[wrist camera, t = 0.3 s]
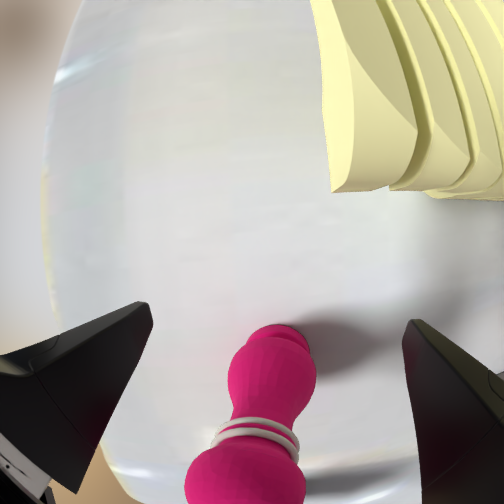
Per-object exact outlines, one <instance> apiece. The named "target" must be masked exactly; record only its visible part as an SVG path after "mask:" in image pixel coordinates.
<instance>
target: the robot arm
mask: <svg viewBox="0 0 504 504" xmlns="http://www.w3.org/2000/svg"><path fill="white" fill-rule="evenodd" d="M152 328H153V319H152V315H151V311H150V307H149V305H148V303H146V302H140V301H137V302H134V303H132V304H130V305H127V306H125V307H123V308H120V309H118V310H116V311H113V312H111V313H109V314H106V315H104V316H101V317H99V318H97V319H94V320H92V321H90V322H87V323H85V324H83V325H80V326H78V327H76V328H73V329H71V330H68V331H66V332H64V333H61V334H60V335H57V336H54V337H52V338H49V339H47V340H45V341H42V342H40V343H37V344H34V345H31V346H28V347H25V348H22V349H19V350H17V351H14V352H10V353H8V354H4V355H0V504H56V503H55V500H54V496H53V493H52V489H51V488H50V487H49V486H48V485H49V483H50V481H51V480H52V478H53V479H54V480H55V481H57V482H58V483H60V484H61V485H63V486H64V487H65V488H67V489H68V490H70V491H71V492H73V493H75V494H77V492H78V490H79V488H80V485H81V483H82V481H83V478H84V475H85V473H86V471H87V469H88V466H89V464H90V462H91V459H92V457H93V455H94V453H95V450H96V448H97V446H98V444H99V442H100V439H101V437H102V435H103V433H104V431H105V429H106V426H107V424H108V422H109V420H110V418H111V416H112V414H113V412H114V410H115V408H116V406H117V404H118V402H119V400H120V398H121V396H122V394H123V392H124V390H125V388H126V386H127V384H128V382H129V380H130V378H131V376H132V374H133V372H134V370H135V368H136V366H137V364H138V362H139V360H140V358H141V355H142V353H143V350H144V348H145V345H146V343H147V340H148V338H149V335H150V333H151V330H152ZM402 349H403V356H404V364H405V373H406V381H407V387H408V392H409V397H410V402H411V407H412V412H413V418H414V424H415V431H416V437H417V445H418V453H419V462H420V473H421V488H422V504H504V380H503V379H501V378H500V377H499V376H497V375H496V374H495V373H493V372H492V371H491V370H488V368H487V367H486V366H484V365H483V364H482V363H480V362H479V361H478V360H476V359H475V358H474V357H472V356H471V355H470V354H468V353H467V352H466V351H464V350H463V349H462V348H460V347H459V346H458V345H456V344H455V343H453V342H452V341H451V340H449V339H448V338H447V337H445V336H444V335H442V334H441V333H440V332H438V331H437V330H435V329H434V328H433V327H431V326H430V325H428V324H427V323H425V322H424V321H423V320H421V319H411V320H409V322H408V324H407V327H406V330H405V333H404V336H403V339H402Z"/></svg>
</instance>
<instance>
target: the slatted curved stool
mask: <svg viewBox="0 0 504 504" xmlns="http://www.w3.org/2000/svg"><path fill="white" fill-rule="evenodd" d="M310 2H311V6H312V10H313V15H314V19H315V24H316V30H317V35H318V41H319V48H320V56H321V66H322V84H323V99H322V113H323V120H324V127H325V135H326V143H327V152H328V161H329V171H330V181H331V193H340V192H361V191H373V190H376V189H379V188H381V187H384V186H387V185H389V190H390V191H424V192H425V193H426V194H428V195H429V196H431V197H433V198H436V199H470V200H491V201H504V3H503V1H502V0H310Z"/></svg>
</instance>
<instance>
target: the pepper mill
mask: <svg viewBox="0 0 504 504" xmlns="http://www.w3.org/2000/svg"><path fill="white" fill-rule="evenodd" d="M315 384H316V368H315V365H314V362H313V360H312V358H311V356H310V350H309V346H308V343H307V342H306V340H305V338H304V337H303V336H302V335H301V334H300V333H299V332H297V331H296V330H294V329H292V328H290V327H287V326H283V325H269V326H265V327H263V328H260V329H258V330H257V331H255V332H254V333H253V334H252V335H251V336H250V337H249V339H248V341H247V343H246V345H244V346H243V347H241V349H240V350H239V351H238V352H237V353H236V354H235V356H234V357H233V359H232V362H231V364H230V368H229V371H228V391H229V394H230V397H231V400H232V403H233V407H234V410H233V413H232V417H231V419H230V421H228V422H225V423H224V424H223V425H221V426H220V427H219V428H218V430H217V431H216V433H215V438H214V439H213V441H212V442H211V446H210V449H209V450H206V451H204V452H202V453H201V454H200V455H199V456H198V457H197V458H196V459H195V460H194V461H193V462H192V464H191V465H190V467H189V469H188V471H187V475H186V479H185V485H184V489H185V495H186V499H187V502H188V503H189V504H303V502H304V498H305V494H306V482H305V478H304V475H303V473H302V471H301V470H300V468H299V467H298V466H297V464H298V460H299V454H298V452H299V449H300V445H299V441H298V439H297V437H296V436H295V434H294V433H293V432H292V427H293V423H294V421H295V419H296V418H297V416H298V415H299V414H300V413H301V412H302V411H303V409H304V408H305V407H306V405H307V404H308V402H309V401H310V399H311V396H312V394H313V392H314V389H315Z"/></svg>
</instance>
